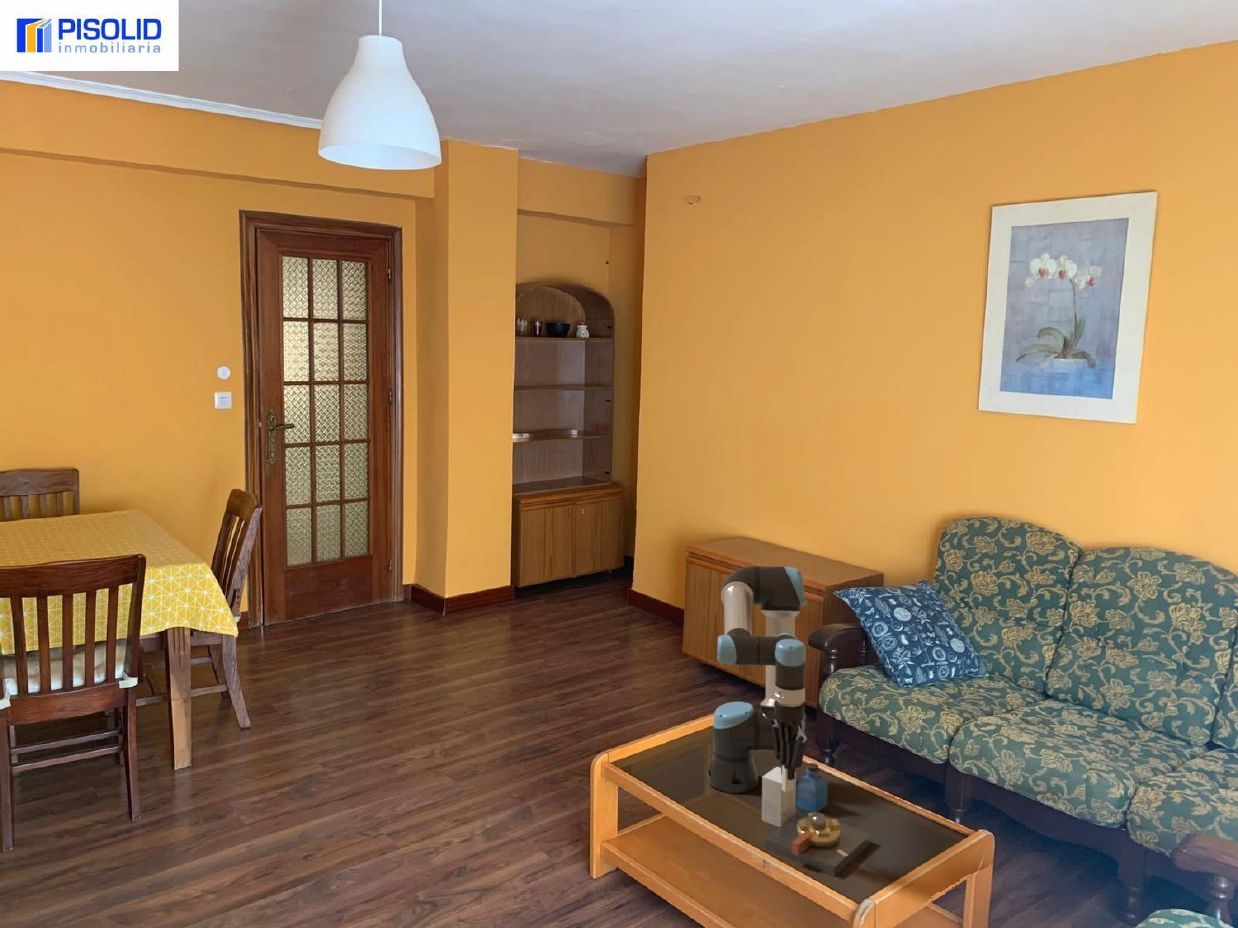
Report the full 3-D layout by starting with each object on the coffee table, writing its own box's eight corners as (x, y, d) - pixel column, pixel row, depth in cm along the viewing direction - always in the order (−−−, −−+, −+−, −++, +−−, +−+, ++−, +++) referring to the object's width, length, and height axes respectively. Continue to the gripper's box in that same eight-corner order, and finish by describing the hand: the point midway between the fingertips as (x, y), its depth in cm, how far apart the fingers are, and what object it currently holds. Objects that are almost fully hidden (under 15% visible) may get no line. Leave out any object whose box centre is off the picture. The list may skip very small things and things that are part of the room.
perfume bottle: (827, 805, 264) (828, 765, 263) (815, 813, 260) (816, 772, 258) (808, 797, 268) (809, 758, 267) (796, 805, 264) (797, 765, 262)
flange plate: (764, 847, 242) (765, 818, 241) (803, 817, 257) (804, 790, 256) (834, 876, 229) (835, 846, 228) (871, 843, 244) (872, 814, 243)
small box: (776, 809, 262) (777, 765, 260) (796, 816, 258) (797, 772, 256) (760, 820, 256) (761, 775, 254) (781, 828, 252) (782, 783, 250)
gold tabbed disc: (810, 820, 251) (810, 807, 250) (847, 834, 244) (847, 821, 243) (775, 846, 238) (776, 833, 237) (814, 862, 230) (814, 849, 230)
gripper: (761, 695, 240) (760, 782, 243) (794, 713, 228) (792, 803, 231) (784, 690, 243) (782, 775, 246) (818, 707, 232) (815, 796, 235)
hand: (787, 789), depth 239 cm, fingers closed
